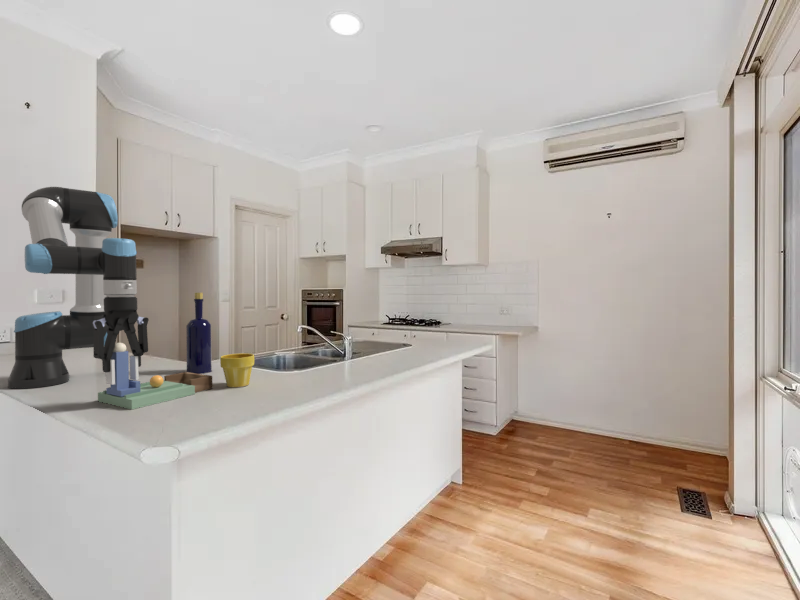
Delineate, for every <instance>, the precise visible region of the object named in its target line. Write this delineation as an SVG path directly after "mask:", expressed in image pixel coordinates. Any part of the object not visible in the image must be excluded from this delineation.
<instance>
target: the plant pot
mask: <svg viewBox="0 0 800 600" xmlns="http://www.w3.org/2000/svg"><path fill="white" fill-rule="evenodd" d="M219 362H220V367H221V368H222V370H223V374H224V379H225V383H226V386H227V387H228V388H243V387H247V386H249V384H250V380H251V375H252V370H253V366H254V365H255V355H254V353H248V352H247V353H246V352H245V353H231V354H224V355H221V356H220V361H219Z"/></svg>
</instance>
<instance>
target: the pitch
mask: <svg viewBox="0 0 800 600" xmlns="http://www.w3.org/2000/svg"><path fill="white" fill-rule="evenodd" d="M193 395H195V386H193V385H187V384H183V383H175V382H169V381H163V384H162V385H161V386H160V387H152V386H151V385H150V381H146V382H142V383H141V382H140V392H137V393H132V394H128V395H124V396H122V397H120V396H116V395H111V394H107V391H106V389H105V390H103V391H99V392H97V402H98V401H99V402H98V403H102V402H103V403H102V404H106V403H108V404H107V405H110V404H112V405H111V406H114V405H116V407H119V406H120V407H119V408H123V407H124V409H128V410H137V409H140V408H143V407H147V406H148V407H149V406H152V405H157V404H159V403H164V402H167V401H172V400H177V399H181V398H185V397H188V396H193ZM139 407H140V408H139Z"/></svg>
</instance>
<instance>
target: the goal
mask: <svg viewBox="0 0 800 600" xmlns="http://www.w3.org/2000/svg"><path fill="white" fill-rule="evenodd" d="M163 380H164V381H169V382H175V383H183V384H187V385H193V386H195V393H200V392H203V391H207V390H212V389H213V375H209V374H204V373H203V374H196V373H189V372H187V371H184V372H179V373H178V372H177V373H174V374H168V375H164V378H163Z"/></svg>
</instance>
